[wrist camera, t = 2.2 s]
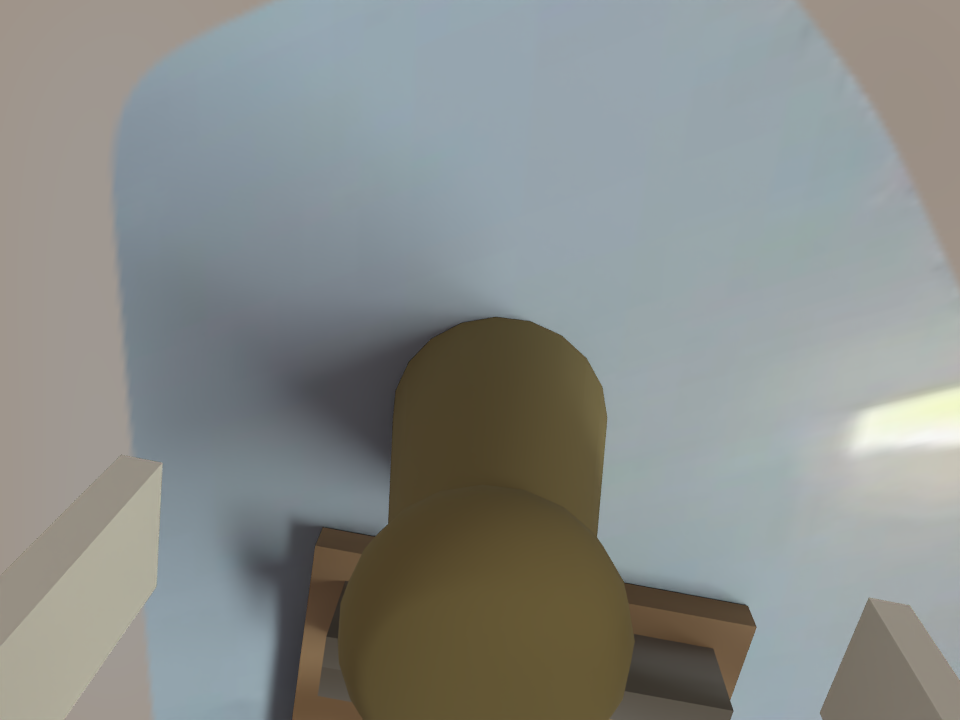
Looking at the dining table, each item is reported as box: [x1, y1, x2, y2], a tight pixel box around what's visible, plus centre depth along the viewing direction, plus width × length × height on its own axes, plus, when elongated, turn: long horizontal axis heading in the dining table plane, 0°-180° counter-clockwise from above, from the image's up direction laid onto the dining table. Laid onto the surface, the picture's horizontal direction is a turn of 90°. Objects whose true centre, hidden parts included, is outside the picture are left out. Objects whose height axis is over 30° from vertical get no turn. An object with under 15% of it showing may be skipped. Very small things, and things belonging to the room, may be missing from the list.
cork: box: [338, 317, 635, 720], centre depth 18 cm, size 6×6×11 cm
